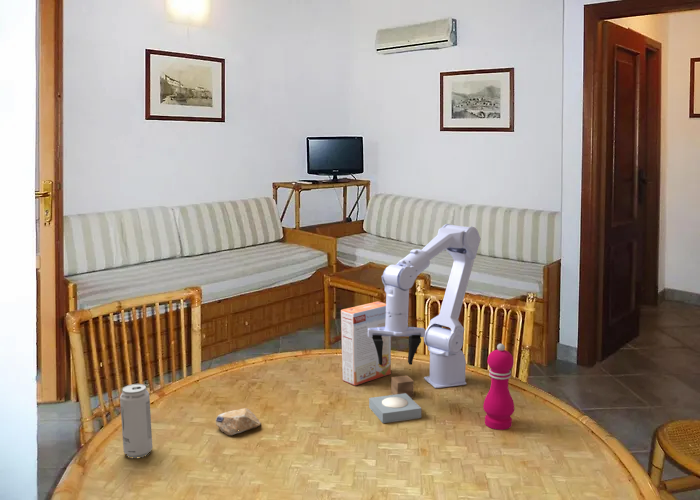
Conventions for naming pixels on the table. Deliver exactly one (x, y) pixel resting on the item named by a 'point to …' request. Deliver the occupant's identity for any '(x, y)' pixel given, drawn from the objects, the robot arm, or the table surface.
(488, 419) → the pepper mill
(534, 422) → the table surface
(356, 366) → the cracker box
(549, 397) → the table surface
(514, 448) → the table surface
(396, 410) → the plinth
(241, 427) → the stone
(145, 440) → the energy drink can
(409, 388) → the walnut block
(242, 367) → the table surface
